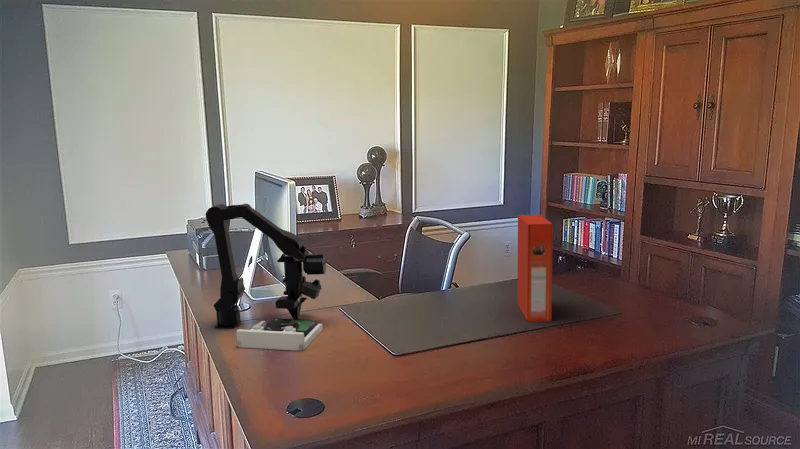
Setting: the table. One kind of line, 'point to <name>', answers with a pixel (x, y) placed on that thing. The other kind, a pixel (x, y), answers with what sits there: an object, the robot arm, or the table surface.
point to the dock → (275, 338)
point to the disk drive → (299, 324)
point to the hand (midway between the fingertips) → (296, 321)
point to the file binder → (535, 267)
